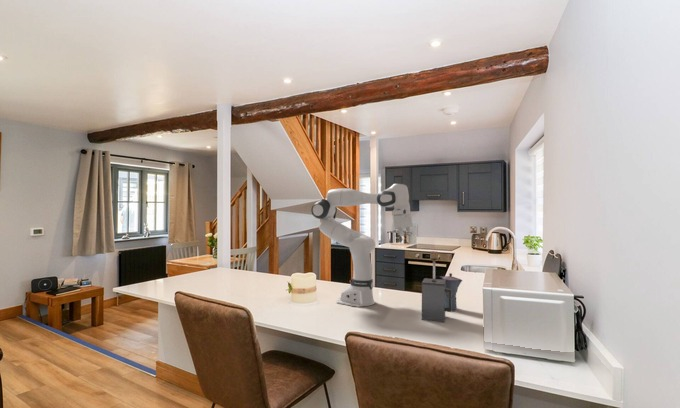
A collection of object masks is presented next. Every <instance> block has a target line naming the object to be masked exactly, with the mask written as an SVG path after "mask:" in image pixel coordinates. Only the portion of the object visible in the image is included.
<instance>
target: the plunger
mask: <svg viewBox="0 0 680 408" xmlns="http://www.w3.org/2000/svg"><path fill="white" fill-rule="evenodd" d="M429 256H430V257H429V259H430V261H432V279H433V282H435V277H436V261H439V252H438V251H433V250H432V251H430V254H429Z"/></svg>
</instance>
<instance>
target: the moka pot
mask: <svg viewBox="0 0 680 408" xmlns="http://www.w3.org/2000/svg"><path fill="white" fill-rule="evenodd" d="M435 279H440V280H446V288H449V289H452V301H451V312H454V311H457V310H458V309H457V308H458V307H457V293H458V289H459V287H460V285H461V283H462V282H463V280H462V279H461V278H458V277H455V276H453V273H451V272H450V273H448V276H447V275H445V276H441V275H435ZM446 308H449V292H446Z"/></svg>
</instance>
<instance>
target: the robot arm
mask: <svg viewBox="0 0 680 408" xmlns="http://www.w3.org/2000/svg"><path fill="white" fill-rule="evenodd" d="M409 194H410V193H409V189H408V186H407V184H405V183H399V182H395V183H393V184H392V185H391V186H390V187H388V188H386V189H384V190H382V191H380V192H379V193H371V192H370V193H368V192H363V191H361V190H357V189H353V188H348V187H347V188H346V187H345V188H333V189H329V190H328V191H327V192H326V196H325V197H326V198H322V199H320V200H319V201H316V202H315V203H313V204H312V207H311V209H310V210H311V214H312V216H313V217H314V218H315V219H318V220H320V221H319V224H318V229H319V231H320V232H321V233H322V234H323V235H324V236H326V237H328V238H329V239H331V240H332V241H334V242H336V243H337V244H340V246H344V247H347V248H349V252H350V254H351V259H352V265H353V266H352V267H353V268H352V269H353V272H352V273H353V276H352V278H351V279H349V283H350V284H349V285H348V286H346V287H345V288H344V289H343V290H342V291H341V292H340V297H339V298H337V299H336V304H339V305H346V306H352V307H356V308H357V307H358V308H360V307H367V306H368V307H369V306H372V305H374V304H375V303H376V302H375V298H374V293H373V288H374V279H373V264H372V261H371V256H370V254H371V253H373V252H374V250H375V248H376V242H375V240H374V238H372V237H370V236H368V235H366V234H364V233H362V232H359V231H357V230H354V229H352V228H351V227H350V228H349V226H346V225H344V224H342V223H340V222H338V221H336V215H337V212H338V207H344V208H345V207H346V208H347V207H354V206H359V205H360V206H361V205H365V204H370V205H371V204H375V205H379V206H380V207H382V208H391V209H392V208H394V209H393V210H392V211H391V214H392V216H393V217H392V219H393V224H394V228H395V229H398V233H399V236H400V237H404V236H405V235H406V236H409V235H410V230H411V228H410V227H412V226H413V220H412V215H411V204H410V201H409V200H410V195H409ZM404 228H405V234H404V231H403V230H404Z"/></svg>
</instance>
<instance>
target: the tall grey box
mask: <svg viewBox="0 0 680 408" xmlns="http://www.w3.org/2000/svg"><path fill="white" fill-rule="evenodd" d="M446 292H449V308H446ZM451 301H452V289H449V288H446V280H440V279H435V282H433V278H427V277H425V278H423V280H422V282H421V321H426V322H435V323H445V321H446V313H451V312H452V311H451Z"/></svg>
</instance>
